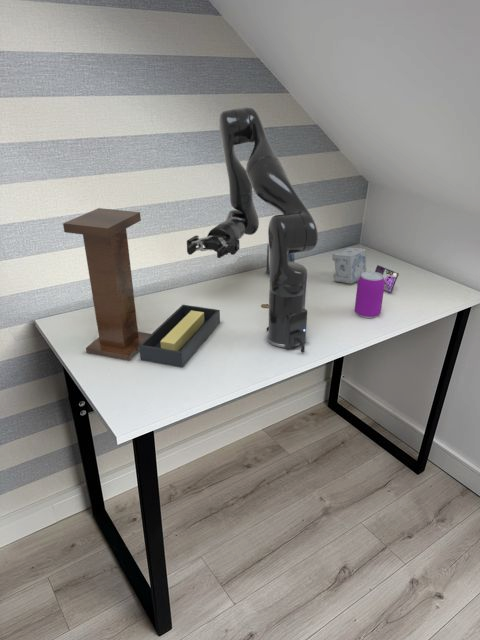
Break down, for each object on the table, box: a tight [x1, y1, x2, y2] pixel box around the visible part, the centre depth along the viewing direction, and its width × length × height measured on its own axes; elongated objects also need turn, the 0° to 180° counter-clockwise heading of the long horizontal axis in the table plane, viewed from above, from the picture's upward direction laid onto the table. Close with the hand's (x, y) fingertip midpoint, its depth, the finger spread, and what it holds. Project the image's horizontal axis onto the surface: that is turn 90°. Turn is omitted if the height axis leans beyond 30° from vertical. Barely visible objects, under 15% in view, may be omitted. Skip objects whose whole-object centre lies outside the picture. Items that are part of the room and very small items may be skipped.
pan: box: [139, 304, 221, 368], centre depth 134 cm, size 25×11×4 cm, turn 163°
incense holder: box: [332, 247, 367, 284], centre depth 171 cm, size 10×8×10 cm
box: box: [266, 243, 295, 276], centre depth 175 cm, size 8×6×11 cm
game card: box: [374, 264, 399, 294], centre depth 167 cm, size 7×5×9 cm
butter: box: [160, 310, 204, 351], centre depth 134 cm, size 19×4×3 cm, turn 163°
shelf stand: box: [62, 207, 152, 362], centre depth 123 cm, size 14×12×33 cm
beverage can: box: [354, 270, 386, 319], centre depth 148 cm, size 8×8×12 cm
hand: (203, 252), depth 138 cm, fingers open, 8 cm apart
